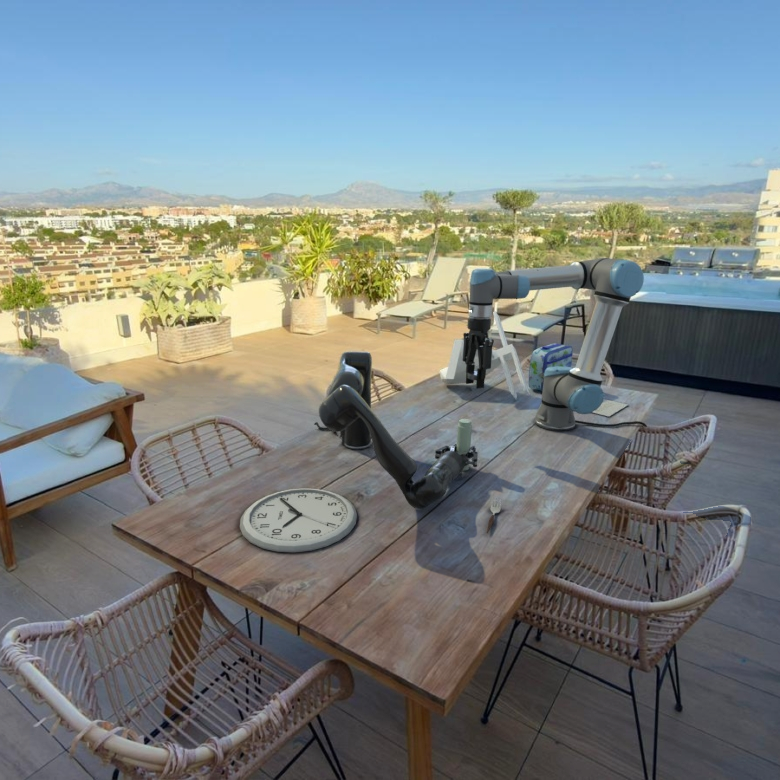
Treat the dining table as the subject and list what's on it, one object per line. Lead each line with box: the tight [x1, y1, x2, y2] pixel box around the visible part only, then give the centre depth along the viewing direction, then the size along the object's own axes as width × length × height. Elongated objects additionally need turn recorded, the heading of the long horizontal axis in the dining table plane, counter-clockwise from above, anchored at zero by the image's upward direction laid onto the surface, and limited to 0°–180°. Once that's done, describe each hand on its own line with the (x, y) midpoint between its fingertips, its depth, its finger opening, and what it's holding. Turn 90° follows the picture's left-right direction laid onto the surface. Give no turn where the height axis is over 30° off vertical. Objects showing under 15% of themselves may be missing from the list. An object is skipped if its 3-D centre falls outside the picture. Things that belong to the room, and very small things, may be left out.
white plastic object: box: [438, 310, 531, 400], centre depth 245 cm, size 37×45×31 cm
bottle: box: [456, 418, 473, 472], centre depth 164 cm, size 4×4×16 cm
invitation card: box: [591, 398, 629, 418], centre depth 226 cm, size 21×1×15 cm
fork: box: [486, 498, 503, 534], centre depth 137 cm, size 3×16×2 cm, turn 160°
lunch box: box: [528, 343, 574, 392], centre depth 249 cm, size 26×11×21 cm, turn 134°
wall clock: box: [239, 487, 358, 553], centre depth 136 cm, size 30×2×30 cm
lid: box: [467, 371, 477, 380], centre depth 176 cm, size 5×5×2 cm
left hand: (465, 447), depth 167 cm, fingers closed on bottle, 4 cm apart
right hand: (474, 385), depth 177 cm, fingers closed on lid, 5 cm apart
